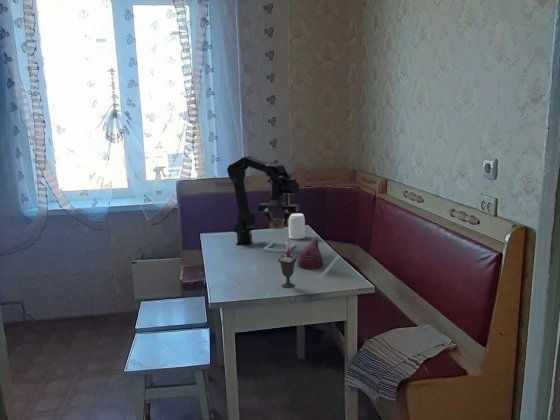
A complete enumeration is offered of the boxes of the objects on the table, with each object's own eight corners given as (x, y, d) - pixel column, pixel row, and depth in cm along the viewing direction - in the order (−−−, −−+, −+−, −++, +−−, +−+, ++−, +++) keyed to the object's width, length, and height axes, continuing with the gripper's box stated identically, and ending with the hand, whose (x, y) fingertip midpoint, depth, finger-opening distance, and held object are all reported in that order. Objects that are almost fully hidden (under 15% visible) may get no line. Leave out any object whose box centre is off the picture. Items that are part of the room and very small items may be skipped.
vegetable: (323, 272, 207) (333, 238, 205) (317, 277, 198) (327, 241, 195) (300, 264, 211) (309, 231, 208) (293, 269, 201) (302, 234, 198)
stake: (278, 260, 216) (277, 243, 214) (283, 255, 222) (283, 239, 220) (293, 261, 213) (292, 244, 212) (298, 256, 220) (297, 240, 218)
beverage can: (305, 239, 247) (304, 216, 245) (289, 240, 247) (288, 216, 245) (304, 235, 255) (304, 212, 253) (289, 236, 255) (288, 213, 253)
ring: (274, 224, 232) (274, 218, 231) (287, 225, 230) (287, 219, 229) (269, 228, 225) (268, 222, 225) (282, 229, 223) (282, 222, 223)
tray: (263, 252, 227) (263, 248, 227) (272, 246, 238) (272, 241, 237) (287, 254, 223) (287, 249, 223) (295, 247, 234) (295, 243, 233)
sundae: (291, 290, 180) (290, 250, 177) (276, 287, 183) (274, 248, 180) (300, 284, 185) (299, 245, 182) (285, 281, 189) (284, 243, 186)
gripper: (251, 195, 221) (253, 229, 224) (291, 196, 214) (292, 231, 217) (261, 190, 231) (262, 223, 234) (299, 192, 224) (300, 225, 228)
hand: (278, 226), depth 228 cm, fingers closed on ring, 6 cm apart
